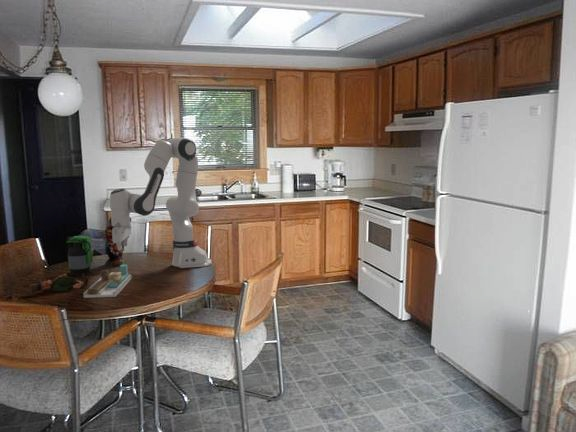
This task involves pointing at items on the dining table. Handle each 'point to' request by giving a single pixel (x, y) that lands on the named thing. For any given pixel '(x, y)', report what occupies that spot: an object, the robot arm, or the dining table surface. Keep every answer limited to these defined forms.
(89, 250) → the potted plant
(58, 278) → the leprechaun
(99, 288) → the strip walnut
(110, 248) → the flower bouquet vase
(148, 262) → the dining table surface
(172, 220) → the robot arm
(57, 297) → the dining table surface
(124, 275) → the strip teal
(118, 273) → the maple cube
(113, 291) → the lane board
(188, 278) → the dining table surface
